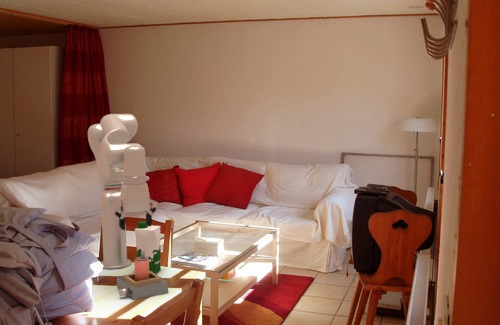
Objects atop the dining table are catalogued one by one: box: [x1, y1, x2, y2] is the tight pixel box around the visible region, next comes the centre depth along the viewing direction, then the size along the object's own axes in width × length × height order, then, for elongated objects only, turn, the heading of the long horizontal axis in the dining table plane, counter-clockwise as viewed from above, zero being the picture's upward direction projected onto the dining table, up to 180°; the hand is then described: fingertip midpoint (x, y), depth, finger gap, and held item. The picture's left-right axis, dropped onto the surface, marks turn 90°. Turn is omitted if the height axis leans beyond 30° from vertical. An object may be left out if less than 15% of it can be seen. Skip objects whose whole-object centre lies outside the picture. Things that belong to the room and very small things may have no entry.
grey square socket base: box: [116, 271, 169, 301], centre depth 195 cm, size 16×16×5 cm
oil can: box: [134, 252, 149, 281], centre depth 195 cm, size 5×5×13 cm
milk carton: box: [134, 220, 162, 274], centre depth 217 cm, size 9×9×20 cm
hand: (135, 227), depth 197 cm, fingers open, 9 cm apart
